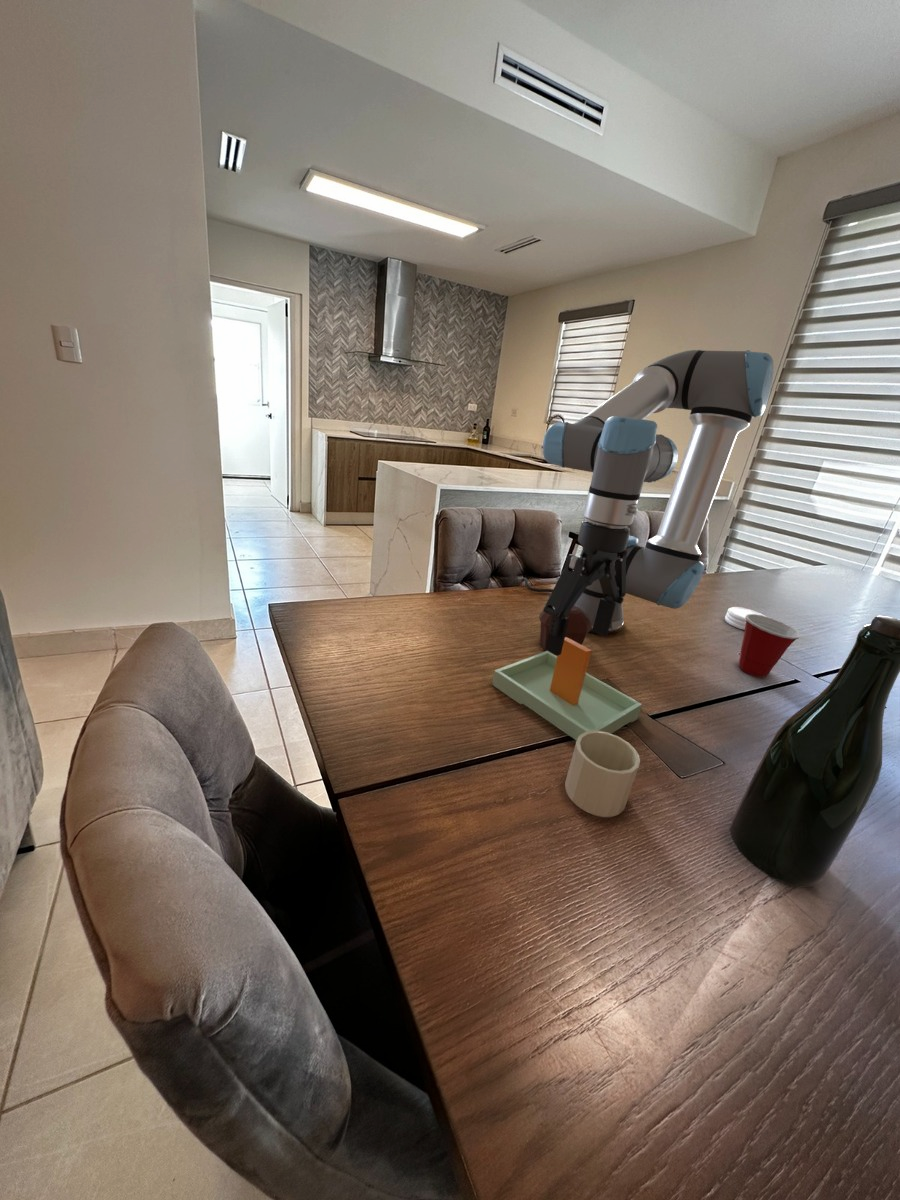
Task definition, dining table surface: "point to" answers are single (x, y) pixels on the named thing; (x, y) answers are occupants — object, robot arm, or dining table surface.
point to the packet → (570, 671)
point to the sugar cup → (601, 773)
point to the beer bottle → (821, 766)
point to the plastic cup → (764, 644)
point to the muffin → (575, 629)
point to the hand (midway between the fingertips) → (577, 642)
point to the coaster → (738, 616)
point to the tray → (592, 712)
